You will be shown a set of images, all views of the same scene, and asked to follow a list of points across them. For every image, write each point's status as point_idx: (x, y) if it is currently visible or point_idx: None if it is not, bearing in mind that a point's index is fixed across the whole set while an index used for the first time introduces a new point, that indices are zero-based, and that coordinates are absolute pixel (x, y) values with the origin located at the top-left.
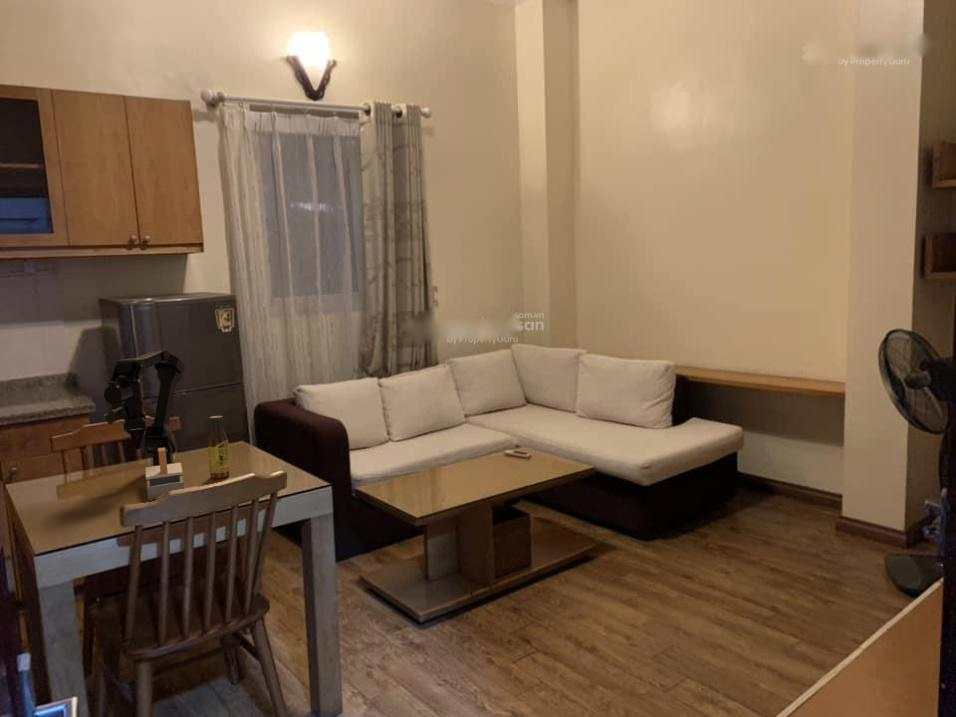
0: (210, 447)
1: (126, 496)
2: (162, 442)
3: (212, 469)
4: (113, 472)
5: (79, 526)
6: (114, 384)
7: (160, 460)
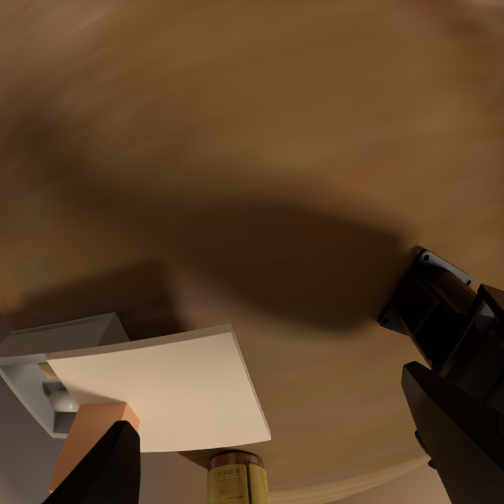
0: None
1: (43, 247)
2: (418, 437)
3: (211, 479)
4: (482, 79)
5: None
6: None
7: (64, 455)
